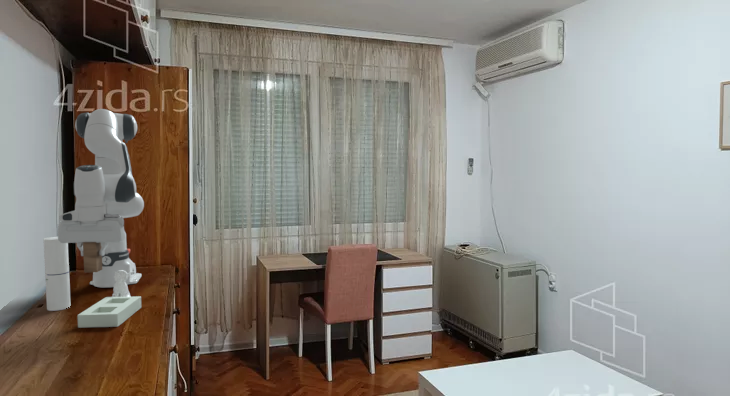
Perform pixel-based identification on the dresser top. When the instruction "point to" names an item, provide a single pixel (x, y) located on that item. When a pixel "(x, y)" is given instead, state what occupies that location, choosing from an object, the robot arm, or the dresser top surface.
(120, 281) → the sitting furry creature
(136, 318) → the dresser top surface
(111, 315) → the socket board
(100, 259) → the wood grain block
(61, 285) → the cylindrical container
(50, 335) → the dresser top surface
